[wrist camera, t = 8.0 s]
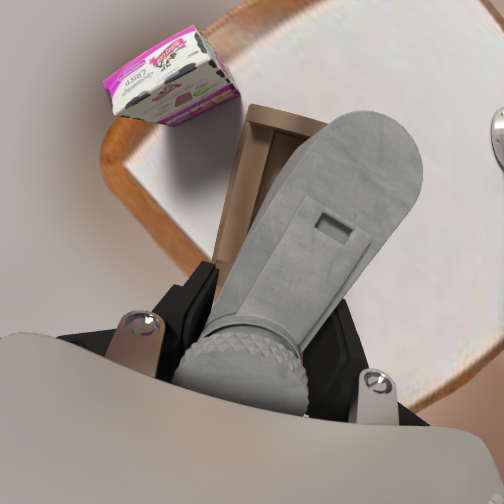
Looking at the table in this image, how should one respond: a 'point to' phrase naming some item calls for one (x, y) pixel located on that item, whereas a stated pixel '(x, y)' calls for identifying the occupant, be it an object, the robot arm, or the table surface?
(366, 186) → the hip flask
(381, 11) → the table surface
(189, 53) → the candy bar box
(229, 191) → the brown rectangular open tray
